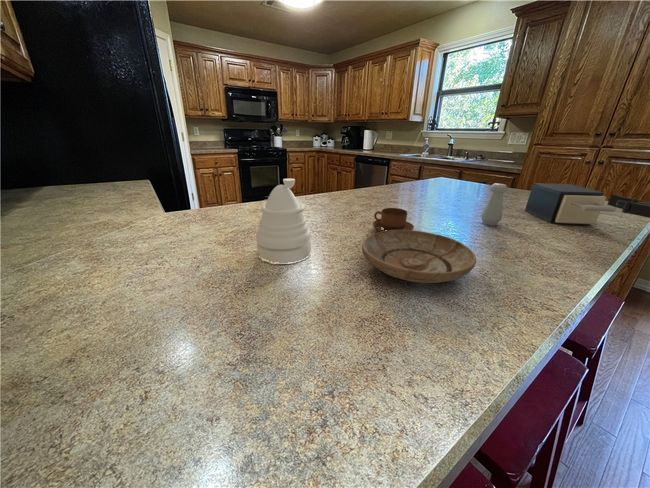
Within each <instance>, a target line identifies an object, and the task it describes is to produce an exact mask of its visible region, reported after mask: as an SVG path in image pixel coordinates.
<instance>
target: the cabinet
mask: <svg viewBox="0 0 650 488" xmlns="http://www.w3.org/2000/svg"><path fill="white" fill-rule="evenodd" d="M563 194H580V195H596V196H604V194H605V193H604V192H602V191H599V190H595V189H591V188H587V187H584V186H579V185H575V184H572V183H547V182H545V183H543V182H533V183H532V185H531V190H530V193H529V195H528V199H527V202H526V205H525V209H524V211H525V212H526V213H528V214H530V215H532V216H535V217H537V218H539V219H540V220H543V221H544V222H546V223H549V224H558V223H557V222H555V219H554V217H555V214H556V211H557V208H558V206H559V203H560V200H561V197H562V195H563ZM565 224H567V225H583V224H582V223H564V225H565Z"/></svg>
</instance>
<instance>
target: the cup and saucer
mask: <svg viewBox="0 0 650 488" xmlns="http://www.w3.org/2000/svg"><path fill="white" fill-rule="evenodd" d="M378 214H379V215H381V217H380V218H378V217H377V215H378ZM373 218H374V221H373V222H372V227H373V228H374V229H375V230H376V231H378V232H382V231H385V230H387V231H388V230H414V228H415V226H414V225H413V224H412V223H411V222H409V221H407V219H408V211H407V210H405V209H404V208H398V207H386V208H383V209H382V210H381V211H379V210H378V211H376V212H374V215H373ZM381 227H383V228H384V230H381Z"/></svg>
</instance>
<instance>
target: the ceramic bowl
mask: <svg viewBox="0 0 650 488" xmlns="http://www.w3.org/2000/svg"><path fill="white" fill-rule="evenodd" d="M361 252H362V255H363V256H364V257H365V259H366V260H367V262H368V263H369V264H370V265H372V266H373V267H374V268H376V269H377V270H378V271H381V272H382V273H384V274H386V275H388V276H390V277H393V278H396V279H399V280H404V281H408V282H410V283H411V282H412V283H421V284H438V283H439V284H441V283H444V282H450V281H454V280H457V279H460V278H462V277H464V276H465V275H468V274H469V273H470V272H471V271H472V270H473V269H474V268H475V266H476V262H477V257H476V254H475V252H473V250H472V249H471V248H470V247H468V246H466V245H465V244H464V243H463V242H460V241H458V240H455V239H453V238H450V237H448V236H445V235H441V234H437V233H433V232H427V231H423V230H422V231H421V230H414V229H413V230H388V231H382V232H380V231H378V232H375V233H371V234H370V235H368V236H366V238H365V239H363V241H362V243H361Z"/></svg>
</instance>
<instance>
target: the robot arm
mask: <svg viewBox="0 0 650 488" xmlns="http://www.w3.org/2000/svg"><path fill="white" fill-rule="evenodd" d="M606 206H613V207H616V209H620V210H622V211H621V212H622V213H624V214H629V215H634V216H639V217H644V218H648V219H650V202H644V201H641V200H640V199H639V198H638V197H633V198H632V197H628V196H623V195H620V194H616V193H611V194H610V198H608V201H607V204H606Z"/></svg>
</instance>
